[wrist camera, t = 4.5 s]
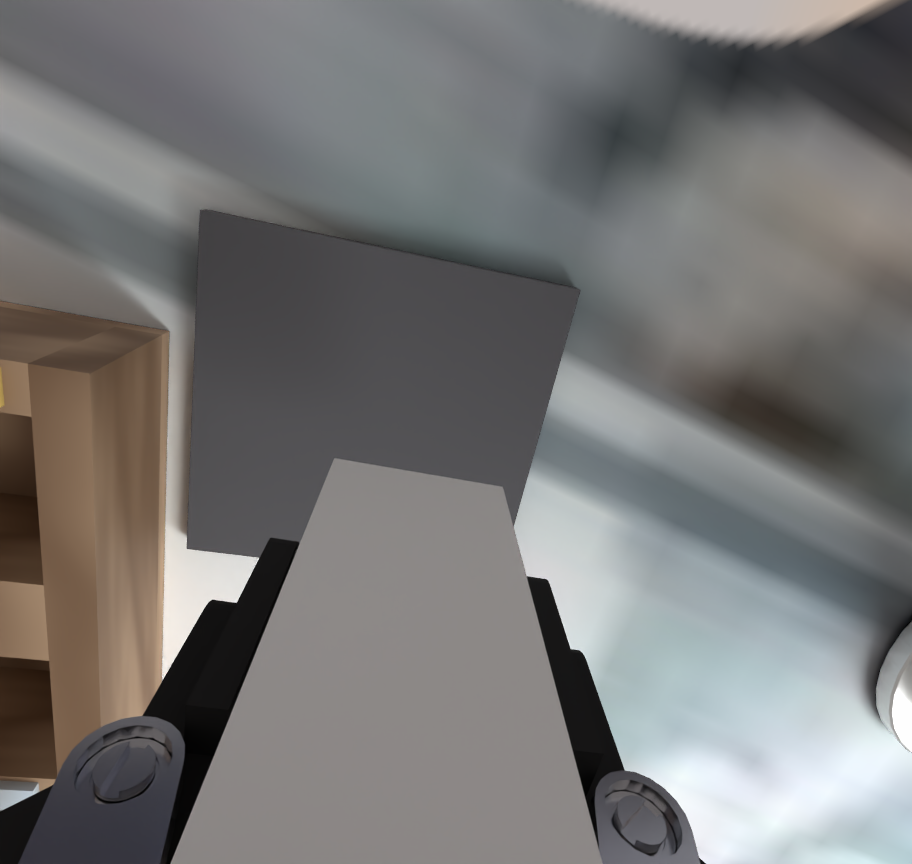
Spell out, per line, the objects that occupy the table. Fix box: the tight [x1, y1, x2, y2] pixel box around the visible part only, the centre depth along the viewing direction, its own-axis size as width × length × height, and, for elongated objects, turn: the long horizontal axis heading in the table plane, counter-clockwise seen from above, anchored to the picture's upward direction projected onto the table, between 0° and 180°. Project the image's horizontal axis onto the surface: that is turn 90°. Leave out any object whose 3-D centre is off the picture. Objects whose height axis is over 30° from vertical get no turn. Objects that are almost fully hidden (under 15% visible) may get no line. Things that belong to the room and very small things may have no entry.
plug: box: [171, 458, 603, 864], centre depth 9 cm, size 4×4×11 cm
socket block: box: [0, 301, 169, 810], centre depth 18 cm, size 8×16×5 cm, turn 168°
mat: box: [187, 210, 580, 558], centre depth 20 cm, size 12×12×1 cm
